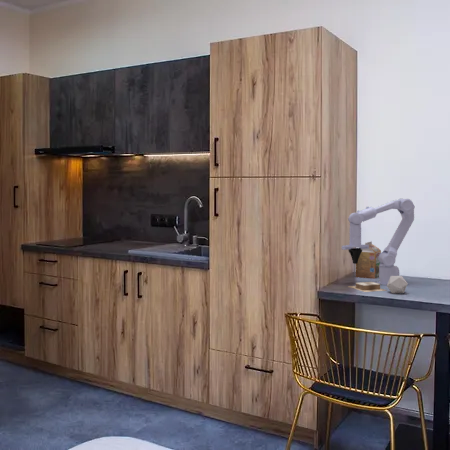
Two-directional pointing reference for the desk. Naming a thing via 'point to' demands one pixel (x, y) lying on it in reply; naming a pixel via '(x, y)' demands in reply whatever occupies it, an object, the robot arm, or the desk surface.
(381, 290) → the light wood board
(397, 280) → the die
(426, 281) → the desk surface
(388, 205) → the robot arm
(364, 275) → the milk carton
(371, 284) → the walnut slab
